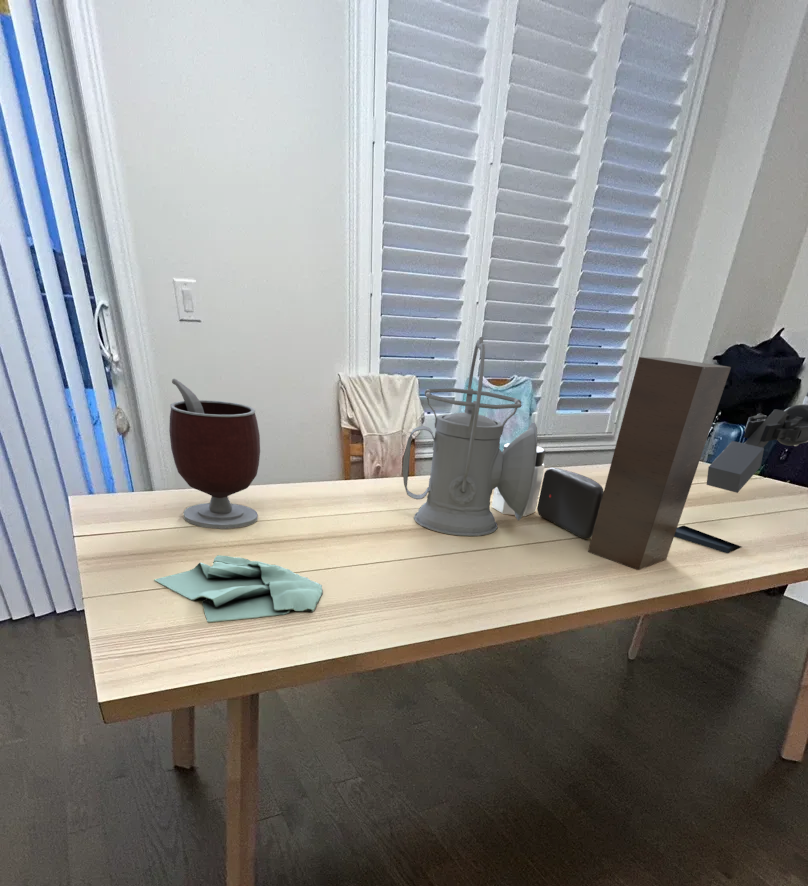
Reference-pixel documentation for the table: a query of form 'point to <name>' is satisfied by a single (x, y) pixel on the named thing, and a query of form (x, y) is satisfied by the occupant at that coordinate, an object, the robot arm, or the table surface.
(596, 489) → the red-dotted rounded block
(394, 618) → the table surface
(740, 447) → the switch lever
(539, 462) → the jar
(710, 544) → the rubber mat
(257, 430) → the mate gourd
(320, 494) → the table surface
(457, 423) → the lantern
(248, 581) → the cloth
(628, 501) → the plinth
